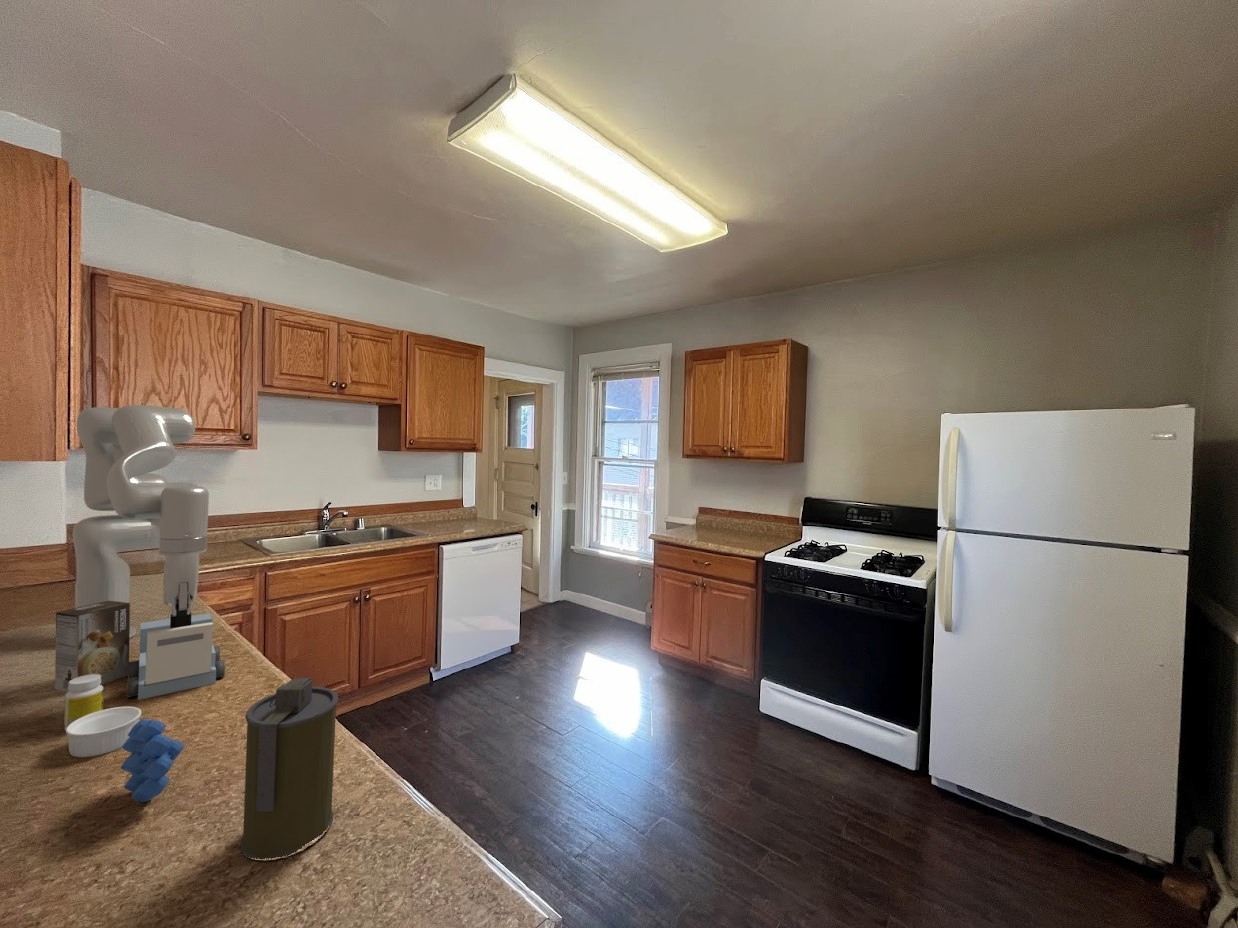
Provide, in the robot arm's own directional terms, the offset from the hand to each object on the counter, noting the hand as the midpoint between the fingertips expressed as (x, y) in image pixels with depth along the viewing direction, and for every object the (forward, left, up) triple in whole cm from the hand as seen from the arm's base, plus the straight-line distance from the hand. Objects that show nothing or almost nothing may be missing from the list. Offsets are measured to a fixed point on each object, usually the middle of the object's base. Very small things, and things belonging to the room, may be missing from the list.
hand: (180, 632), depth 103 cm
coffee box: (-14, -13, -12) cm, 23 cm away
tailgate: (+1, 0, -9) cm, 9 cm away
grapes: (+39, -4, -12) cm, 41 cm away
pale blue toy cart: (-7, 0, -12) cm, 14 cm away
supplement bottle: (+7, -13, -12) cm, 19 cm away
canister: (+59, +9, -12) cm, 61 cm away
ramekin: (+17, -10, -12) cm, 23 cm away
